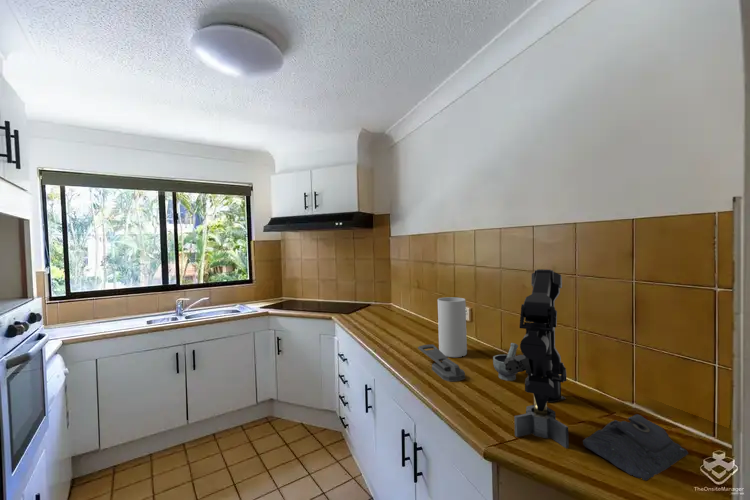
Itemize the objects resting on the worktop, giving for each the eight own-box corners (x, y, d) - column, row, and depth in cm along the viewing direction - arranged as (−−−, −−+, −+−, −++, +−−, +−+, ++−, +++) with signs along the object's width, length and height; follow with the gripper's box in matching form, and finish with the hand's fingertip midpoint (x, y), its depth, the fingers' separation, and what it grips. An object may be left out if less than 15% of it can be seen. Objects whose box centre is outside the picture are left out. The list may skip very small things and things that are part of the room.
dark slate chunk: (570, 446, 78) (569, 427, 78) (619, 422, 88) (618, 405, 88) (646, 487, 64) (645, 463, 64) (693, 453, 74) (693, 432, 74)
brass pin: (547, 417, 85) (546, 379, 85) (547, 423, 82) (546, 384, 82) (534, 415, 86) (533, 378, 86) (534, 420, 84) (533, 382, 84)
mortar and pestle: (510, 384, 113) (509, 350, 113) (487, 376, 121) (487, 344, 121) (528, 377, 119) (527, 344, 119) (506, 369, 127) (505, 339, 127)
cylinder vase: (450, 347, 157) (448, 296, 157) (472, 353, 147) (470, 299, 147) (433, 353, 149) (431, 299, 149) (455, 360, 139) (454, 302, 139)
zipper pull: (433, 343, 142) (468, 361, 119) (434, 358, 142) (468, 379, 119) (415, 346, 139) (447, 364, 116) (416, 361, 139) (448, 383, 116)
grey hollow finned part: (541, 421, 89) (540, 403, 89) (578, 445, 78) (577, 424, 78) (506, 429, 85) (506, 410, 85) (540, 455, 74) (539, 433, 74)
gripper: (509, 336, 96) (510, 388, 96) (501, 355, 80) (503, 417, 80) (551, 340, 91) (553, 395, 91) (552, 361, 75) (554, 428, 75)
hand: (540, 407), depth 84 cm, fingers closed on brass pin, 3 cm apart
